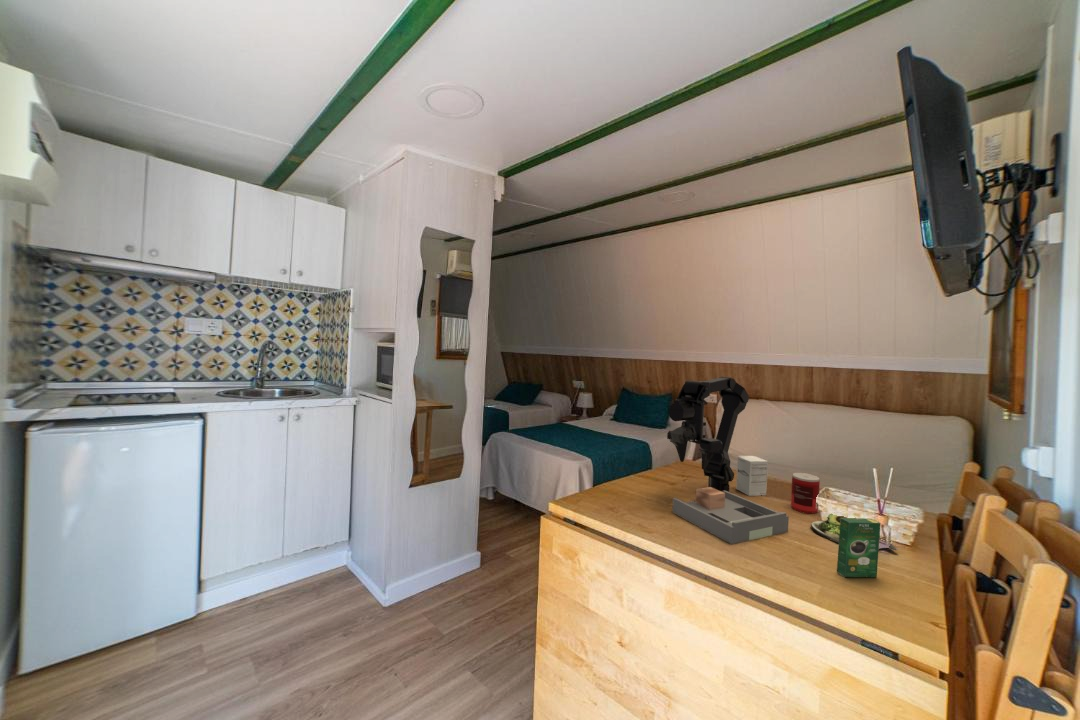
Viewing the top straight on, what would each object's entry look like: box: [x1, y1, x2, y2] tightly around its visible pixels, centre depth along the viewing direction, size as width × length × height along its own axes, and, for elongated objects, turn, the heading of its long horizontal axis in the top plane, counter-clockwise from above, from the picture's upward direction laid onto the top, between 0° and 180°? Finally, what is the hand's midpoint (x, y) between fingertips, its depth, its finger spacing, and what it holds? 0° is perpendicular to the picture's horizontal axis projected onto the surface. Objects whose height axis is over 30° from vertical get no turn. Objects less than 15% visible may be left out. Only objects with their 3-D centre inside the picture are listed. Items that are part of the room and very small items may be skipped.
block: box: [695, 486, 725, 510], centre depth 134 cm, size 6×6×4 cm
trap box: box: [671, 490, 790, 545], centre depth 128 cm, size 23×22×6 cm
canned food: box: [790, 472, 821, 514], centre depth 139 cm, size 8×8×11 cm
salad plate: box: [810, 513, 899, 551], centre depth 119 cm, size 19×18×5 cm
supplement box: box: [735, 455, 769, 497], centre depth 155 cm, size 7×7×13 cm
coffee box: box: [836, 517, 881, 578], centre depth 99 cm, size 8×3×13 cm, turn 93°
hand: (692, 465), depth 141 cm, fingers open, 9 cm apart
